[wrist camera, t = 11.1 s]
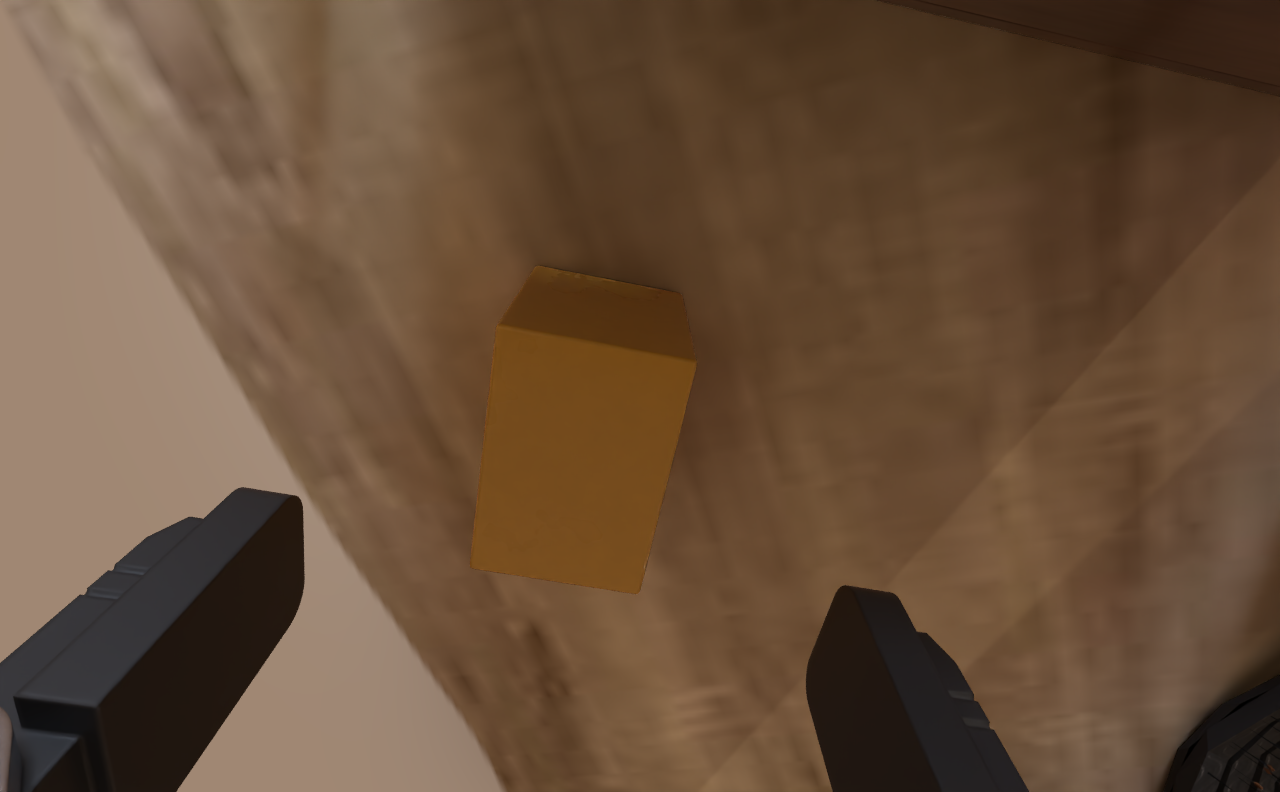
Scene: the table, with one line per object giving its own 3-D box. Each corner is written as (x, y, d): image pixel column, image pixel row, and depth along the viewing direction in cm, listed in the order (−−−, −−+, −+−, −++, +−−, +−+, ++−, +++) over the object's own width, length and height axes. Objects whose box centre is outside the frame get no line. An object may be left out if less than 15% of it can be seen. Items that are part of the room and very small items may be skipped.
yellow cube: (509, 458, 17) (468, 569, 13) (535, 264, 15) (495, 323, 11) (640, 480, 18) (639, 596, 14) (683, 293, 16) (698, 361, 11)
